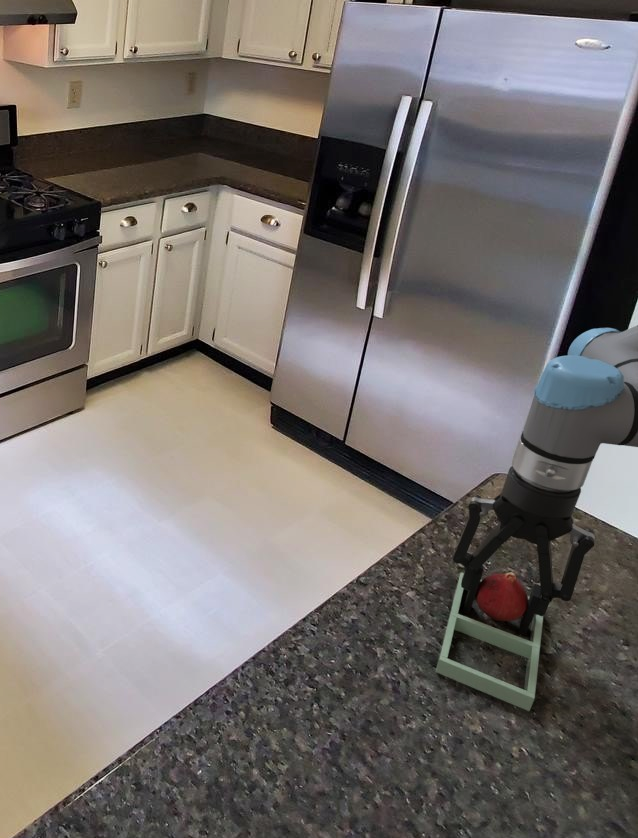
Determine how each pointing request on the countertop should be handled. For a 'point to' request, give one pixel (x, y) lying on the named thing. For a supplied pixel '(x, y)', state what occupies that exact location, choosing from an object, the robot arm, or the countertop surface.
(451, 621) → the holder
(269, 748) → the countertop surface
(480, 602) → the onion
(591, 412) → the robot arm
